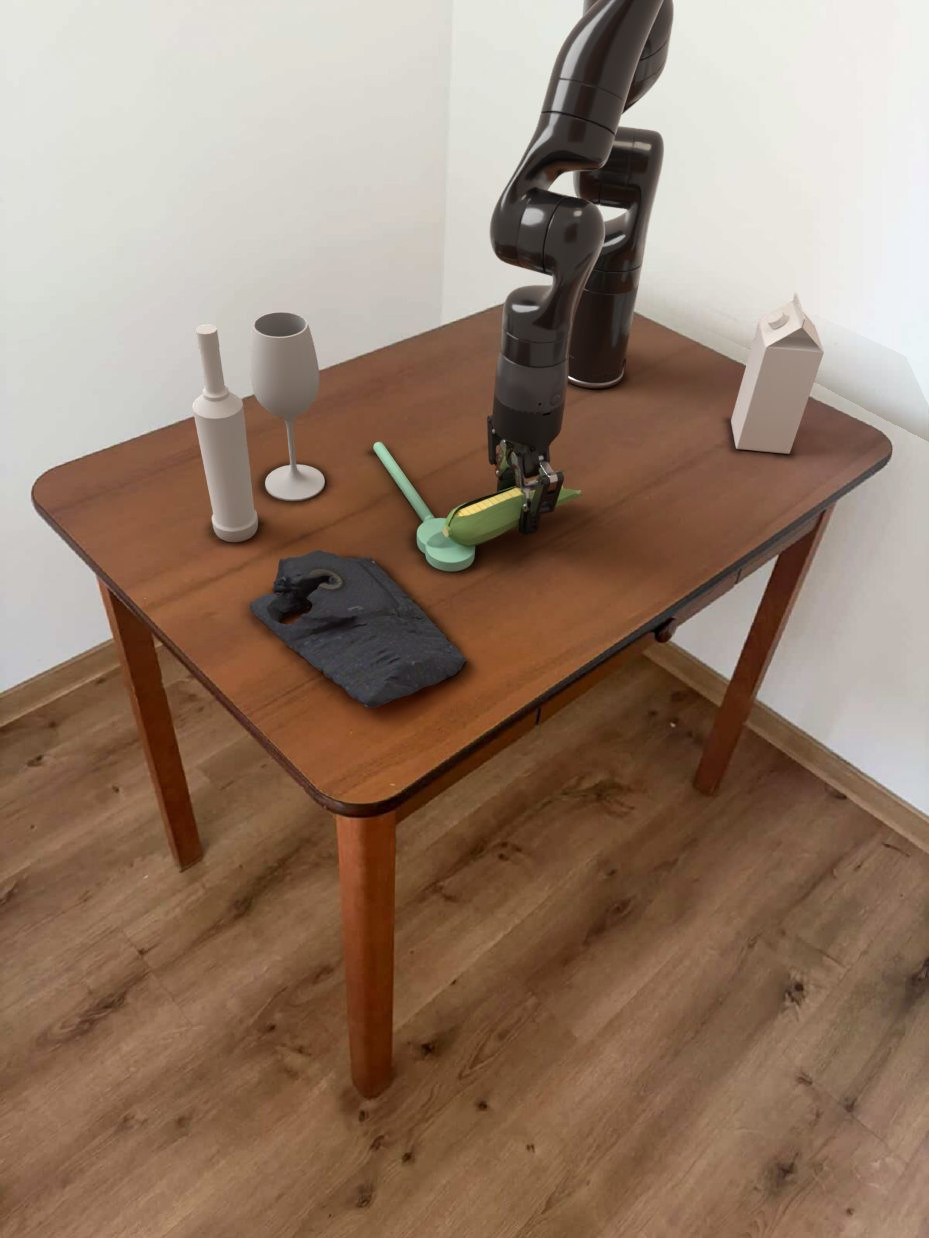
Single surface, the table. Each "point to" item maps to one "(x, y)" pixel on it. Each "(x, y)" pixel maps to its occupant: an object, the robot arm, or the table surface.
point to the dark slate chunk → (357, 627)
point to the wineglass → (286, 391)
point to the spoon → (428, 524)
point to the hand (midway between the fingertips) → (516, 517)
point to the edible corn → (491, 515)
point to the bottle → (223, 446)
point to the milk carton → (777, 380)
